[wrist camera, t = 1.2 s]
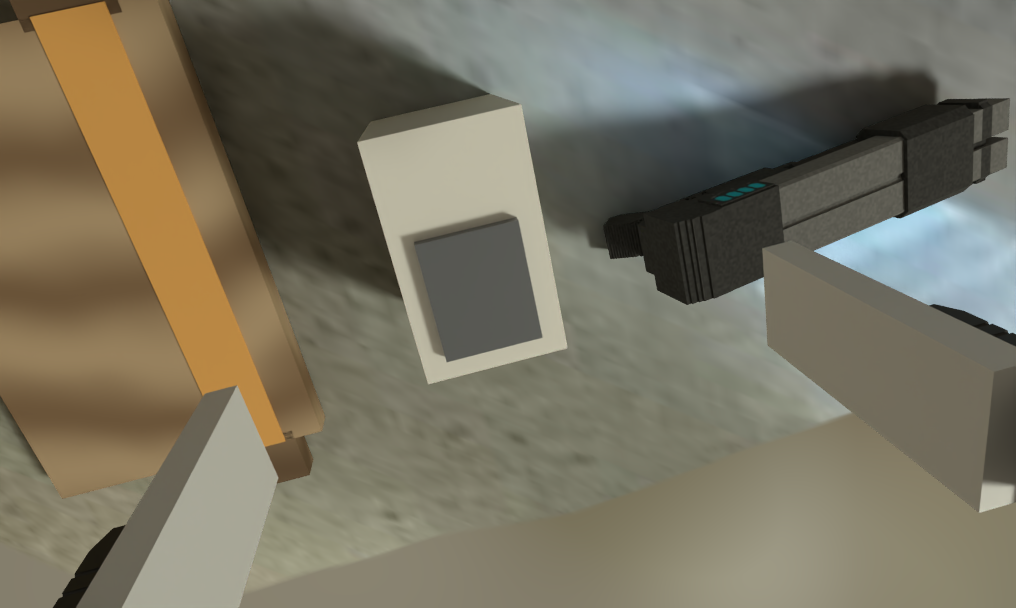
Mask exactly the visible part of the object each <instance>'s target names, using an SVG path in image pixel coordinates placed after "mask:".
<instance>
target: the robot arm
mask: <svg viewBox="0 0 1016 608" xmlns="http://www.w3.org/2000/svg"><path fill="white" fill-rule="evenodd" d="M762 252H763V270H764V287H765V305H766V323H767V341H768V346H769V347H770V348H772V349H773V350H774V351H776V352H777V353H778V354H779V355H781V356H782V357H783V358H784V359H786V360H787V361H788V362H789V363H791V364H792V365H793V366H794V367H796V368H797V369H798V370H799V371H801V372H802V373H803V374H805V375H806V376H807V377H808V378H810V379H811V380H812V381H813V382H815V383H816V384H817V385H818V386H820V387H821V388H822V389H823V390H825V391H826V392H827V393H829V394H830V395H831V396H832V397H834V398H835V399H836V400H837V401H839V402H840V403H841V404H842V405H844V406H845V407H846V408H847V409H849V410H850V411H851V412H853V413H854V414H855V415H856V416H858V417H859V418H860V419H861V420H863V421H864V422H865V423H866V424H868V425H869V426H871V427H872V428H873V429H874V430H875V431H876V432H878V433H879V434H880V435H882V436H883V437H884V438H885V439H887V440H888V441H889V442H890V443H892V444H893V445H894V446H895V447H897V448H898V449H899V450H900V451H902V452H903V453H904V454H906V455H907V456H908V457H909V458H911V459H912V460H913V461H914V462H916V463H917V464H918V465H919V466H921V467H922V468H923V469H925V470H926V471H927V472H928V473H929V474H931V475H932V476H933V477H935V478H936V479H937V480H938V481H940V482H941V483H942V484H943V485H945V486H946V487H947V488H948V489H950V490H951V491H952V492H954V493H955V494H956V495H957V496H959V497H960V498H961V499H962V500H964V501H965V502H966V503H967V504H969V505H970V506H971V507H972V508H974V509H975V510H976V511H977V512H979V513H980V512H984V511H987V510H990V509H994V508H997V507H1001V506H1004V505H1008V504H1011V503H1014V502H1016V334H1014V333H1010V334H1009V333H1008V331H1007V330H1005V329H1003V328H1001V327H998V326H996V325H994V324H990V325H989V324H988V322H987V321H985V320H983V319H981V318H978V317H976V316H974V315H972V314H970V313H967V312H965V311H962V310H958V309H953V308H949V307H944V306H940V305H936V304H933V305H926V304H924V303H922V302H920V301H918V300H916V299H914V298H912V297H909V296H907V295H905V294H903V293H901V292H899V291H897V290H895V289H893V288H890V287H888V286H886V285H884V284H882V283H880V282H878V281H876V280H873V279H871V278H869V277H867V276H865V275H863V274H861V273H859V272H857V271H854V270H852V269H850V268H848V267H846V266H844V265H842V264H840V263H837V262H835V261H833V260H831V259H829V258H827V257H825V256H823V255H820V254H818V253H816V252H814V251H812V250H810V249H808V248H806V247H804V246H801V245H799V244H797V243H795V242H793V241H788V242H785V243H781V244H777V245H773V246H769V247H765V248H762ZM277 481H278V476H277V473H276V471H275V469H274V467H273V464H272V462H271V460H270V458H269V455H268V453H267V451H266V449H265V446H264V444H263V442H262V440H261V438H260V435H259V433H258V431H257V429H256V426H255V424H254V422H253V420H252V417H251V415H250V413H249V411H248V408H247V406H246V404H245V402H244V399H243V397H242V395H241V393H240V390H239V388H238V386H237V385H236V386H232V387H228V388H224V389H221V390H217V391H213V392H209V393H205V394H204V396H203V398H202V399H201V401H200V403H199V404H198V406H197V408H196V409H195V411H194V413H193V414H192V416H191V417H190V419H189V421H188V422H187V424H186V426H185V427H184V429H183V431H182V432H181V434H180V436H179V437H178V439H177V441H176V442H175V444H174V446H173V447H172V449H171V451H170V452H169V454H168V456H167V457H166V459H165V461H164V462H163V464H162V466H161V467H160V469H159V471H158V472H157V474H156V476H155V477H154V479H153V481H152V482H151V484H150V486H149V487H148V489H147V491H146V492H145V494H144V496H143V497H142V499H141V501H140V502H139V504H138V506H137V507H136V509H135V510H134V512H133V514H132V515H131V517H130V519H129V520H128V522H127V524H126V525H124V526H120V527H117V528H113V529H112V530H111V531H110V532H109V533H108V534H107V535H106V536H105V537H104V538H103V539H102V540H100V541H99V542H98V543H97V544H96V545H95V546H94V547H93V548H92V549H91V550H90V551H89V552H88V554H87V556H86V557H85V559H84V560H83V562H82V563H81V565H80V566H79V568H78V570H77V571H76V573H75V578H73V579H71V580H70V582H69V584H68V585H67V587H66V588H65V590H64V591H63V593H62V594H63V597H61V598H59V599H58V601H57V602H56V604H55V605H54V607H53V608H239V605H240V602H241V598H242V595H243V592H244V589H245V585H246V582H247V579H248V576H249V572H250V569H251V566H252V562H253V559H254V556H255V553H256V549H257V546H258V543H259V540H260V536H261V533H262V530H263V526H264V523H265V520H266V517H267V513H268V510H269V507H270V504H271V500H272V497H273V494H274V490H275V487H276V484H277Z"/></svg>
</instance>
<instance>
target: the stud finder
mask: <svg viewBox="0 0 1016 608" xmlns="http://www.w3.org/2000/svg"><path fill="white" fill-rule="evenodd" d="M357 144H358V147H359V150H360V154H361V157H362V161H363V164H364V167H365V171H366V174H367V178H368V181H369V184H370V188H371V191H372V195H373V198H374V201H375V205H376V208H377V212H378V215H379V218H380V222H381V225H382V229H383V232H384V235H385V239H386V242H387V246H388V249H389V252H390V256H391V259H392V263H393V266H394V269H395V273H396V276H397V280H398V283H399V286H400V290H401V293H402V297H403V300H404V303H405V307H406V310H407V314H408V317H409V321H410V324H411V327H412V331H413V334H414V338H415V341H416V344H417V348H418V351H419V355H420V358H421V361H422V365H423V368H424V372H425V375H426V378H427V382H428V384H431V383H435V382H439V381H442V380H446V379H450V378H454V377H458V376H462V375H466V374H469V373H473V372H477V371H481V370H485V369H489V368H493V367H496V366H500V365H504V364H508V363H512V362H516V361H520V360H523V359H527V358H531V357H535V356H539V355H543V354H547V353H551V352H554V351H558V350H562V349H566V348H567V342H566V337H565V332H564V327H563V321H562V316H561V311H560V306H559V300H558V295H557V290H556V285H555V279H554V274H553V269H552V264H551V258H550V253H549V248H548V243H547V237H546V232H545V227H544V222H543V216H542V211H541V206H540V201H539V195H538V190H537V185H536V180H535V174H534V169H533V164H532V159H531V153H530V148H529V143H528V138H527V133H526V127H525V122H524V117H523V112H522V106H521V104H519V103H516V102H513V101H510V100H507V99H504V98H501V97H498V96H495V95H492V94H488V95H484V96H479V97H475V98H471V99H466V100H462V101H458V102H453V103H449V104H445V105H440V106H436V107H431V108H427V109H423V110H418V111H414V112H410V113H405V114H401V115H397V116H392V117H388V118H384V119H379V120H375V121H371V122H370V123H369V125H368V126H367V128H366V129H365V131H364V132H363V134H362V135H361V137H360V139H359V140H358V142H357Z"/></svg>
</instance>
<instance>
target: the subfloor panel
mask: <svg viewBox="0 0 1016 608" xmlns="http://www.w3.org/2000/svg"><path fill="white" fill-rule="evenodd" d="M9 1H10V3H11V5H12V7H13V9H14V12H15V14H16V16H17V18H18V20H16V21H11V22H6V23H1V24H0V396H1V398H2V399H3V401H4V403H5V404H6V406H7V408H8V409H9V411H10V413H11V414H12V416H13V418H14V419H15V421H16V423H17V424H18V426H19V428H20V429H21V431H22V433H23V434H24V436H25V438H26V439H27V441H28V443H29V444H30V446H31V448H32V449H33V451H34V453H35V454H36V456H37V458H38V459H39V461H40V463H41V464H42V466H43V468H44V469H45V471H46V473H47V474H48V476H49V478H50V479H51V481H52V483H53V484H54V486H55V488H56V489H57V491H58V493H59V494H60V496H61V497H62V499H64V498H67V497H71V496H75V495H79V494H83V493H87V492H90V491H94V490H98V489H102V488H106V487H110V486H113V485H117V484H121V483H125V482H129V481H132V480H136V479H140V478H144V477H148V476H152V475H155V474H157V472H158V471H159V469H160V467H161V466H162V464H163V462H164V461H165V459H166V457H167V456H168V454H169V452H170V451H171V449H172V447H173V446H174V444H175V442H176V441H177V439H178V437H179V436H180V434H181V432H182V431H183V429H184V427H185V426H186V424H187V422H188V421H189V419H190V417H191V416H192V414H193V413H194V411H195V409H196V408H197V406H198V404H199V403H200V401H201V399H202V398H203V396H204V394H205V393H209V392H213V391H217V390H221V389H224V388H228V387H232V386H236V385H237V386H238V388H239V390H240V393H241V395H242V397H243V399H244V402H245V404H246V406H247V408H248V411H249V413H250V415H251V417H252V420H253V422H254V424H255V426H256V429H257V431H258V433H259V435H260V438H261V440H262V442H263V444H264V446H265V449H266V451H267V453H268V455H269V458H270V460H271V462H272V464H273V467H274V469H275V471H276V473H277V476H278V481H277V483H281V482H285V481H288V480H292V479H296V478H300V477H303V476H307V475H310V471H311V467H312V462H313V457H312V455H311V452H310V450H309V447H308V445H307V442H306V440H305V437H304V436H305V435H309V434H313V433H316V432H320V431H322V428H323V424H324V420H325V415H324V412H323V410H322V407H321V404H320V402H319V399H318V396H317V394H316V391H315V388H314V386H313V383H312V380H311V378H310V375H309V372H308V370H307V367H306V364H305V362H304V359H303V356H302V354H301V351H300V349H299V346H298V343H297V341H296V338H295V335H294V333H293V330H292V327H291V325H290V322H289V319H288V317H287V314H286V311H285V309H284V306H283V303H282V301H281V298H280V295H279V293H278V290H277V287H276V285H275V282H274V279H273V277H272V274H271V271H270V269H269V266H268V263H267V261H266V258H265V255H264V253H263V250H262V247H261V245H260V242H259V239H258V237H257V234H256V231H255V229H254V226H253V223H252V221H251V218H250V215H249V213H248V210H247V208H246V205H245V202H244V200H243V197H242V194H241V192H240V189H239V186H238V184H237V181H236V178H235V176H234V173H233V170H232V168H231V165H230V162H229V160H228V157H227V154H226V152H225V149H224V146H223V144H222V141H221V138H220V136H219V133H218V130H217V128H216V125H215V122H214V120H213V117H212V114H211V112H210V109H209V106H208V104H207V101H206V98H205V96H204V93H203V90H202V88H201V85H200V82H199V80H198V77H197V74H196V72H195V69H194V67H193V64H192V61H191V59H190V56H189V53H188V51H187V48H186V45H185V43H184V40H183V37H182V35H181V32H180V29H179V27H178V24H177V21H176V19H175V16H174V13H173V11H172V8H171V5H170V3H169V0H9Z"/></svg>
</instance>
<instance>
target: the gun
mask: <svg viewBox="0 0 1016 608" xmlns="http://www.w3.org/2000/svg"><path fill="white" fill-rule="evenodd" d="M1009 106H1010V98H1004V99H947V100H944V101H942V102H939V103H938V104H937V105H924V106H921V107H919V108H916V109H914V110H911V111H908V112H906V113H903V114H900V115H898V116H895V117H892V118H890V119H887V120H885V121H882V122H879V123H877V124H874V125H871V126H869V127H866V128H864V129H862V130H861V131H860V133H859V134H858V135H857V136H856V138H857V139H855V140H852V141H850V142H847V143H845V144H842V145H839V146H837V147H834V148H832V149H829V150H826V151H824V152H821V153H819V154H816V155H813V156H811V157H808V158H806V159H803V160H800V161H798V162H790V163H787V164H784V165H782V166H779V167H776V168H774V169H770V168H763V169H760V170H757V171H755V172H752V173H749V174H747V175H744V176H741V177H739V178H736V179H734V180H731V181H728V182H726V183H723V184H720V185H718V186H715V187H713V188H710V189H707V190H705V191H702V192H699V193H697V194H693V195H691V196H689V197H686V198H683V199H680V200H678V201H676V202H673V203H671V204H668V205H665V206H663V207H660V208H658V209H656V210H653V211H650V212H649V211H648V212H642V213H641V212H640V213H634V214H633V213H632V214H626V215H625V214H624V215H619V216H615V217H612V218H610V219H609V220H608V221H607V222H606V224H605V225H604V226H603V227H604V231H605V236H606V241H607V245H608V250H609V255H610V259H615V258H616V259H617V258H626V257H627V258H628V257H637V256H639V255H640V256H644V261H645V267H646V271H647V272H649V273H651V274H653V275H655V280H656V286H657V290H658V291H660V292H662V293H664V294H666V295H668V296H670V297H672V298H674V299H676V300H678V301H680V302H682V303H684V304H686V305H688V304H691V303H692V304H694V303H696V302H701V301H707V300H709V299H711V298H717V297H719V296H721V295H724V294H726V293H728V292H731V291H733V290H734V289H737V288H739V287H741V286H744V285H746V284H748V283H751V282H753V281H756V280H758V279H760V278H763V277H764V270H763V252H762V248H765V247H769V246H773V245H777V244H781V243H785V242H788V241H793V242H795V243H797V244H799V245H801V246H804V247H806V248H808V249H810V250H812V251H814V250H816V249H819V248H821V247H823V246H826V245H828V244H830V243H833V242H835V241H838V240H840V239H842V238H845V237H847V236H849V235H852V234H854V233H856V232H859V231H861V230H863V229H866V228H868V227H870V226H873V225H875V224H877V223H880V222H882V221H885V220H887V219H889V218H892V217H896V218H902V217H905V216H907V215H910V214H912V213H914V212H917V211H919V210H921V209H924V208H926V207H928V206H931V205H933V204H935V203H938V202H940V201H942V200H945V199H947V198H949V197H952V196H954V195H956V194H959V193H961V192H963V191H964V190H966V189H967V188H968V187H969V186H970V185H972V184H973V183H974V184H977V183H979V182H982V181H984V180H985V178H986V177H987V176H988V175H990V174H992V173H995V172H997V171H999V170H1002V169H1004V168H1006V167H1007V148H1008V138H1003V137H991V136H994V135H996V134H999V133H1001V132H1004V131H1006V130H1008V127H1009Z"/></svg>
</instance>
